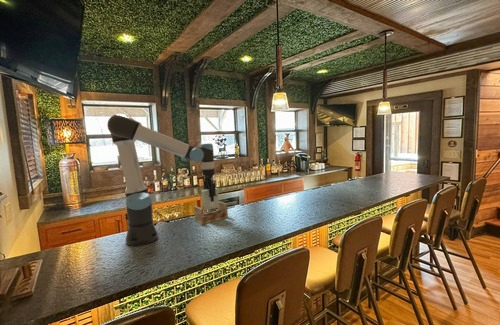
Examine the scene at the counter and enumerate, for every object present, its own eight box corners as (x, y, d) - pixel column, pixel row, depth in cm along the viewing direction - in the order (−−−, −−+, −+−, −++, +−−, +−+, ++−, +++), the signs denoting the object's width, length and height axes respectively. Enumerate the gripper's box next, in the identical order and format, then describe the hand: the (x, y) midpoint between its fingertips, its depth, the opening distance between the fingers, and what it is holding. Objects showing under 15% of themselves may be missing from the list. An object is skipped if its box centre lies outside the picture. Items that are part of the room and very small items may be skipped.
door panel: (205, 210, 151) (203, 191, 150) (202, 209, 154) (201, 190, 153) (219, 207, 157) (218, 188, 156) (216, 206, 160) (215, 187, 159)
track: (201, 224, 147) (200, 209, 146) (194, 220, 155) (193, 206, 155) (227, 217, 158) (227, 203, 157) (220, 214, 166) (219, 201, 165)
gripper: (219, 168, 149) (222, 207, 151) (207, 167, 162) (210, 202, 164) (208, 170, 145) (211, 209, 147) (197, 168, 158) (199, 204, 160)
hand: (210, 205), depth 156 cm, fingers closed on door panel, 3 cm apart
